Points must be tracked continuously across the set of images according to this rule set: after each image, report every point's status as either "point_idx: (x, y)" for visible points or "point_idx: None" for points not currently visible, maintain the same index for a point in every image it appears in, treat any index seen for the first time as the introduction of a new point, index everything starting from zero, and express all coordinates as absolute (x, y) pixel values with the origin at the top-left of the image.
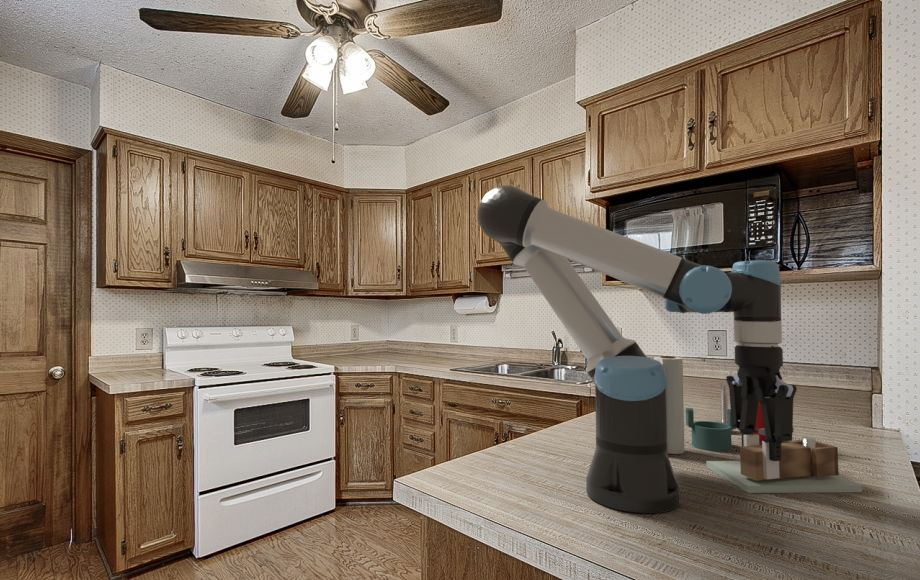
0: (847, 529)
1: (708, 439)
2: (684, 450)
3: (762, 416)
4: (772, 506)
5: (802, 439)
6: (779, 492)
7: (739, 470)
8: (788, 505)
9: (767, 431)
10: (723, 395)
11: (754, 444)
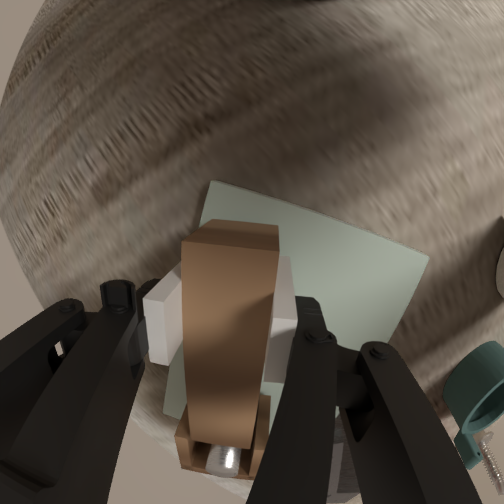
0: (42, 214)
1: (483, 367)
2: (498, 291)
3: (91, 396)
4: (132, 164)
5: (231, 463)
6: None
7: (330, 278)
8: (127, 208)
9: (105, 328)
10: (497, 477)
11: (268, 333)
